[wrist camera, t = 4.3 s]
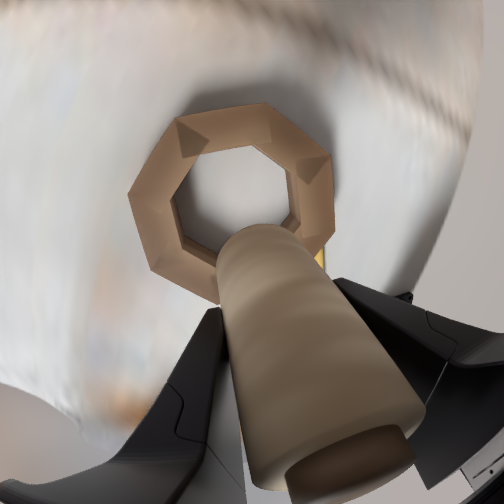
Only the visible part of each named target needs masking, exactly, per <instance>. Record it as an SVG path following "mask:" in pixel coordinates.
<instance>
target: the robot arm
mask: <svg viewBox="0 0 504 504" xmlns="http://www.w3.org/2000/svg"><path fill="white" fill-rule="evenodd" d="M332 281H333V282H334V284H335V285H336V286H337V287H338V289H339V290H340V291H341V292H342V294H343V295H344V296H345V298H346V299H347V300H348V301H349V303H350V304H351V305H352V307H353V308H354V309H355V310H356V312H357V313H358V314H359V316H360V317H361V318H362V320H363V321H364V322H365V323H366V325H367V326H368V327H369V329H370V330H371V331H372V333H373V334H374V335H375V337H376V338H377V339H378V341H379V342H380V343H381V345H382V346H383V348H384V349H385V350H386V352H387V353H388V354H389V356H390V357H391V358H392V360H393V361H394V363H395V364H396V365H397V367H398V368H399V370H400V371H401V372H402V374H403V375H404V377H405V378H406V379H407V381H408V382H409V384H410V385H411V387H412V388H413V389H414V391H415V392H416V394H417V395H418V397H419V398H420V400H421V401H422V402H423V404H424V405H425V407H426V414H425V417H424V419H423V421H422V422H421V424H420V425H419V426H418V428H417V429H416V430H415V431H414V432H413V434H412V435H411V436H410V437H409V438H407V440H408V442H409V444H410V446H411V447H412V449H413V451H414V453H415V454H416V456H417V460H416V462H415V463H414V465H415V466H416V469H417V471H418V472H419V474H420V476H421V478H422V480H423V482H424V484H425V486H426V488H427V490H429V489H431V488H432V487H434V486H436V485H437V484H439V483H440V482H442V481H443V480H445V479H446V478H448V477H449V476H451V475H452V474H453V473H455V472H456V471H458V470H459V469H460V470H461V472H462V473H463V475H464V476H465V478H466V479H467V481H468V482H469V484H470V485H471V487H472V488H473V490H474V491H475V492H474V493H473V494H471V495H470V496H469V497H467V498H466V499H465V500H464V501H462V502H461V503H459V504H504V333H495V332H491V331H487V330H484V329H480V328H477V327H474V326H471V325H467V324H464V323H461V322H458V321H454V320H451V319H448V318H446V317H443V316H440V315H438V314H435V313H432V312H429V311H425V310H424V309H422V308H420V307H417V306H414V305H412V300H413V294H412V293H411V292H408V293H405V294H403V295H400V296H397V297H391V296H389V295H386V294H384V293H381V292H378V291H376V290H373V289H371V288H368V287H365V286H363V285H360V284H358V283H355V282H353V281H350V280H347V279H345V278H338V279H334V280H332ZM245 492H246V491H245V481H244V472H243V460H242V449H241V438H240V426H239V415H238V410H237V404H236V398H235V393H234V387H233V381H232V375H231V369H230V363H229V357H228V351H227V345H226V337H225V330H224V324H223V317H222V310H221V308H220V307H216V308H211V309H208V310H207V311H206V313H205V315H204V316H203V318H202V320H201V322H200V323H199V325H198V327H197V329H196V330H195V332H194V334H193V336H192V337H191V339H190V341H189V343H188V344H187V346H186V348H185V350H184V352H183V353H182V355H181V357H180V359H179V360H178V362H177V364H176V366H175V367H174V369H173V371H172V373H171V375H170V376H169V378H168V380H167V383H165V385H164V387H163V389H162V390H161V392H160V394H159V395H158V397H157V399H156V400H155V402H154V404H153V405H152V407H151V408H150V410H149V411H148V412H147V414H146V415H145V417H144V418H143V420H142V421H141V422H140V424H139V425H138V426H137V428H136V429H135V430H134V432H133V433H132V434H131V436H130V437H129V438H128V440H127V441H126V442H125V444H124V445H123V447H122V448H121V449H120V450H119V451H118V453H117V454H116V455H115V456H114V457H112V458H111V459H110V460H109V461H107V462H105V463H103V464H101V465H98V466H96V467H93V468H91V469H88V470H85V471H82V472H80V473H77V474H74V475H71V476H68V477H65V478H62V479H59V480H56V481H53V482H49V483H45V484H37V485H36V484H26V483H23V482H20V481H18V480H15V479H8V480H6V481H3V482H1V483H0V502H2V503H4V504H247V500H246V494H245Z"/></svg>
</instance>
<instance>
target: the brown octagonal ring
mask: <svg viewBox="0 0 504 504" xmlns="http://www.w3.org/2000/svg"><path fill="white" fill-rule="evenodd" d="M250 145H252V146H254V147H255V148H256V149H258V150H259V151H261V152H262V153H263V154H265V155H266V156H267V157H269V158H270V159H271V160H273V161H274V162H276V163H277V164H278V165H280V166H281V167H282V168H283V169H285V172H286V180H287V189H288V198H289V207H290V214H289V215H288V217H287V218H286V219H285V221H284V222H283V223H282V224H281V227H283V228H286V229H287V230H289V231H290V232H292V233H293V234H294V235H295V236H296V237H297V238H298V239H299V241H300V242H301V243H302V244H303V245H304V247H305V248H306V249H307V250H308V251H309V253H310V254H311V255H312V256H313V258H314V257H315V256H316V255H317V254H318V252H319V251H320V250H321V249H322V247H323V246H324V245H325V244H326V242H327V241H328V240H329V239H330V237H331V236H332V235H333V234H334V232H335V212H334V192H333V176H332V163H331V155H330V154H329V153H327V152H326V151H325V150H324V149H323V148H322V147H321V146H319V145H318V144H317V143H316V142H315V141H314V140H312V139H311V138H310V137H309V136H308V135H306V134H305V133H304V132H303V131H302V130H300V129H299V128H298V127H297V126H296V125H294V124H293V123H292V122H291V121H289V120H288V119H287V118H285V117H284V116H283V115H282V114H280V113H279V112H278V111H276V110H275V109H274V108H272V107H271V106H270V105H268V104H267V103H258V104H250V105H243V106H236V107H229V108H223V109H217V110H212V111H206V112H201V113H196V114H191V115H186V116H182V117H177V118H175V119H174V120H173V121H172V123H171V124H170V126H169V127H168V129H167V130H166V132H165V133H164V135H163V136H162V138H161V139H160V141H159V142H158V144H157V145H156V147H155V149H154V150H153V152H152V153H151V155H150V157H149V158H148V160H147V161H146V163H145V165H144V166H143V168H142V170H141V171H140V173H139V175H138V177H137V178H136V180H135V182H134V184H133V185H132V187H131V189H130V191H129V193H128V198H129V202H130V205H131V209H132V212H133V216H134V219H135V223H136V226H137V229H138V233H139V236H140V239H141V242H142V245H143V248H144V252H145V255H146V258H147V261H148V264H149V266H150V269H151V271H153V272H155V273H156V274H158V275H160V276H162V277H164V278H166V279H168V280H169V281H171V282H173V283H175V284H177V285H179V286H181V287H183V288H185V289H187V290H189V291H191V292H193V293H194V294H196V295H198V296H200V297H202V298H204V299H206V300H208V301H210V302H212V303H214V304H216V305H218V304H220V297H219V290H218V282H217V275H216V263H217V258H218V254H216V253H214V252H212V251H211V250H209V249H207V248H205V247H204V246H202V245H200V244H199V243H197V242H195V241H193V240H192V239H190V238H188V237H186V236H185V235H184V234H183V230H182V226H181V222H180V218H179V214H178V210H177V206H176V201H175V197H174V193H175V191H176V190H177V188H178V186H179V185H180V183H181V182H182V180H183V179H184V177H185V176H186V174H187V173H188V171H189V170H190V168H191V167H192V165H193V164H194V162H195V161H196V159H197V158H198V156H199V155H201V154H206V153H211V152H216V151H221V150H226V149H232V148H238V147H244V146H250Z"/></svg>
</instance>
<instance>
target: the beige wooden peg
mask: <svg viewBox="0 0 504 504" xmlns="http://www.w3.org/2000/svg"><path fill="white" fill-rule="evenodd" d="M216 275H217V282H218V290H219V297H220V304H221V310H222V317H223V324H224V330H225V337H226V345H227V351H228V357H229V363H230V369H231V375H232V381H233V387H234V393H235V398H236V404H237V410H238V415H239V420H240V426H241V431H242V436H243V441H244V446H245V451H246V456H247V461H248V466H249V470H250V475H251V480H252V483H253V484H254V485H255V486H256V487H258V488H260V489H264V490H270V491H288V492H289V495H290V498H291V502H292V504H342V503H345V502H348V501H350V500H353V499H355V498H358V497H360V496H362V495H365V494H367V493H369V492H371V491H373V490H375V489H377V488H379V487H381V486H383V485H384V484H386V483H388V482H389V481H391V480H393V479H394V478H396V477H397V476H399V475H400V474H402V473H403V472H404V471H406V470H407V469H408V468H410V467H411V466H412V465H413V464H414V463H415V462H416V460H417V456H416V454H415V453H414V451H413V449H412V447H411V446H410V444H409V442H408V440H407V438H409V437H410V436H411V435H412V434H413V432H414V431H415V430H416V429H417V428H418V426H419V425H420V424H421V422H422V421H423V419H424V417H425V414H426V407H425V405H424V404H423V402H422V401H421V400H420V398H419V397H418V395H417V394H416V392H415V391H414V389H413V388H412V387H411V385H410V384H409V382H408V381H407V379H406V378H405V377H404V375H403V374H402V372H401V371H400V370H399V368H398V367H397V365H396V364H395V363H394V361H393V360H392V358H391V357H390V356H389V354H388V353H387V352H386V350H385V349H384V348H383V346H382V345H381V343H380V342H379V341H378V339H377V338H376V337H375V335H374V334H373V333H372V331H371V330H370V329H369V327H368V326H367V325H366V323H365V322H364V321H363V320H362V318H361V317H360V316H359V314H358V313H357V312H356V310H355V309H354V308H353V307H352V305H351V304H350V303H349V301H348V300H347V299H346V298H345V296H344V295H343V294H342V292H341V291H340V290H339V289H338V287H337V286H336V285H335V284H334V282H333V281H332V280H331V279H330V277H329V276H328V275H327V274H326V272H325V271H324V270H323V269H322V267H321V266H320V265H319V264H318V262H317V261H316V260H315V259H314V258H313V256H312V255H311V254H310V253H309V251H308V250H307V249H306V248H305V247H304V245H303V244H302V243H301V242H300V241H299V239H298V238H297V237H296V236H295V235H294V234H293V233H292V232H290V231H289V230H287V229H286V228H283V227H281V226H278V225H274V224H256V225H252V226H249V227H246V228H244V229H242V230H240V231H238V232H237V233H235V234H234V235H233V236H231V237H230V238H229V239H228V240H227V242H226V243H225V244H224V245H223V247H222V249H221V250H220V253H219V255H218V258H217V263H216Z"/></svg>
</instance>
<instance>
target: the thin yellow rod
mask: <svg viewBox="0 0 504 504" xmlns="http://www.w3.org/2000/svg"><path fill="white" fill-rule="evenodd" d="M315 260H316V261H317V262H318V264H319V265H320V266H321V267H322V269H323V270H324V262H323V247H322V249H321V250H320V251H319V252H318V254H317V255H316V256H315Z"/></svg>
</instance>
